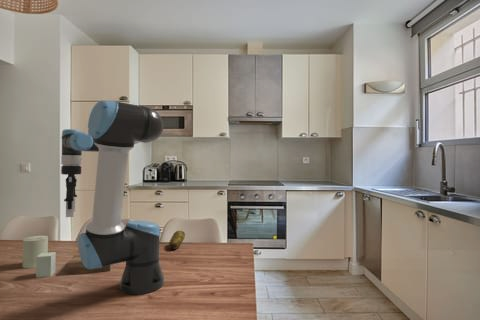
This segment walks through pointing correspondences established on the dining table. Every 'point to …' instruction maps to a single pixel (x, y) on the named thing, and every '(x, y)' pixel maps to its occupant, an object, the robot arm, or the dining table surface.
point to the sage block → (45, 264)
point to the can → (33, 249)
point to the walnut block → (82, 266)
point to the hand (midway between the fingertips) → (70, 214)
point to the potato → (176, 239)
